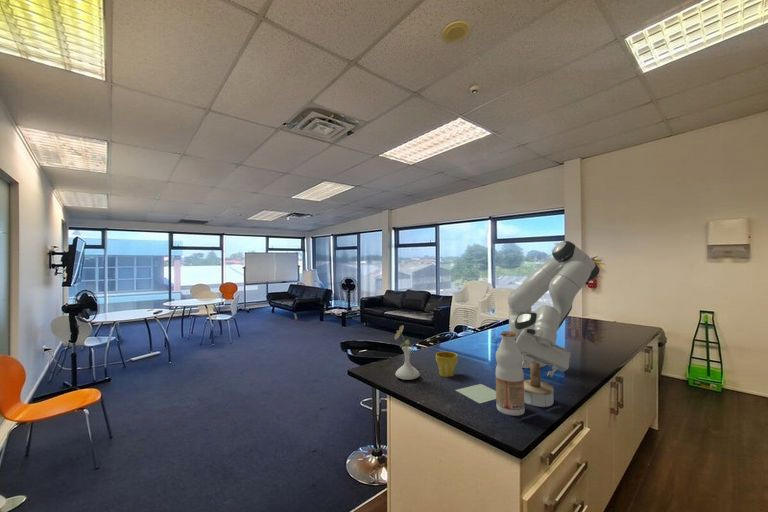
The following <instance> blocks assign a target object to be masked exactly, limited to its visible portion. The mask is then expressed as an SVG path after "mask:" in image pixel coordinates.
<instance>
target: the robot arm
mask: <svg viewBox="0 0 768 512" xmlns="http://www.w3.org/2000/svg"><path fill="white" fill-rule="evenodd" d="M551 252H552V254H551V255H552V257H551V258H550V259H548V260H547V261H546V262H544V263H543V264H542V265H541V266H539V268H537V269H536V270H535V271H534V272H533V273H532V274H531V275H530V276H528V277H527V278H526V279H525V280H524V281H523V282H522V283H521V284H520V285H519V286H518V287H516V288H515V289H513V290H512V291H511V292H510V293H509V295H508V297H507V304H508V309H509V311H508V325H509V327H508V329H509V330H508V331H512V332H515V334H516V336H515V341H516V344H517V346H518V349H519V351H520V352H521V354H522V357H523V361H522V369H530V362H537V363H540V369H541V368H543V367H546V366H548V367H551V370H548V371H547V376H548V377H550V378H553V376H554V373H555V372H556V371H557V370H559V371H561V372H564V373H565V372H566V371H567V370H568V369H569V367H570V359H571V352H570V351H569V350H568V349H567V348H565V347H563V346H560V345H558V344H557V343H556V342H557V338H558V331H559V330H560V328H561V326H562V325H563V323H564V322H565V320H566V319H567V318H568V316H569V314H570V313H571V312H572V308H573V303H574V300H575V298H576V296H577V294H578V293H579V291H580V290H581V289H582V288H583V287H584V286H585V285H586V283H587V282H589V281H592V280H594V279H595V278H597V276H598V275H599V274H600V271H601V270H600V267H599V266H598V264H597V262H595V261H594V260H593V259H592V258H591V257H590V256H589V254H587V253H586V252H584V251H583V250H582V249H580V248H579V247H578V246H576V244H575V243H573V242H571V241H569V240H565V241H561V242H560V243H558V244H556V246H554V247H553V249H552V251H551ZM547 292H549V295H550V298H551V301H552V306H551V305H548V304H541V305H540V306H539V307H538V308H537V309H536V310H533V311H532V306H534V305H535V304H536V303H537V302H538V301H539V300H540V299H541V298H542V297H543V296H544V295H546V294H547Z"/></svg>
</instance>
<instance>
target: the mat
mask: <svg viewBox="0 0 768 512" xmlns="http://www.w3.org/2000/svg"><path fill="white" fill-rule="evenodd" d="M455 392H457V393H460V394H461V395H463V396H465V397H467V398H469V399H471V400H472V401H474V402H475V403H478V404H480V405H481V404H483V403H487V402H490V401H493V400H496V389H492V388H491V387H489V386H486V385H484V384H481V383H479V384H474V385H471V386H466V387H462V388H457V389H455Z"/></svg>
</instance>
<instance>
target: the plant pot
mask: <svg viewBox="0 0 768 512" xmlns="http://www.w3.org/2000/svg"><path fill="white" fill-rule="evenodd" d="M458 357H459V356H458V354H457V353H455V352H452V351H438V352H436V354H435V362H436V363H437V368H438V371H439V372H438V373H439V375H440V376H441V377H443V378H449V377H454V376H455V371H456V368H457V367H456V366H457V364H458V363H459V361H458V360H459V359H458Z"/></svg>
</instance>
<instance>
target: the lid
mask: <svg viewBox="0 0 768 512" xmlns="http://www.w3.org/2000/svg"><path fill="white" fill-rule="evenodd" d="M529 371H530V373H529V375H530V379H524V391H525V392H528V393H531V394H536V395H549V394H552V393H553V394H554V389H555V388H554V386H553V385H551V384H550V383H548V382H544V381H541V368H540V363H537V362H530V368H529Z"/></svg>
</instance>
